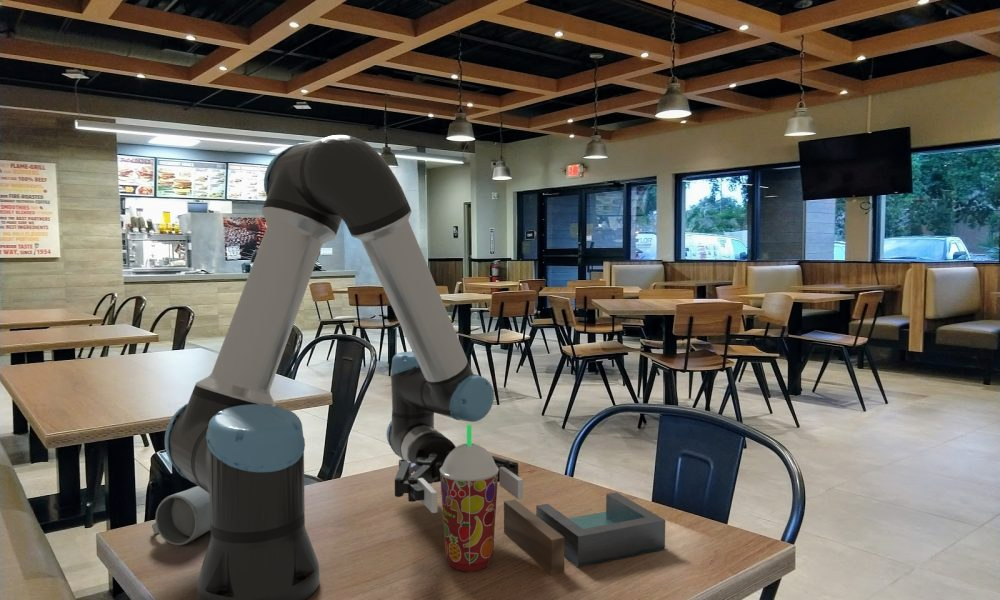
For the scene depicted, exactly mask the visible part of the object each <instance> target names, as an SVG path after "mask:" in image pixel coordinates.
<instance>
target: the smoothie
mask: <svg viewBox="0 0 1000 600" xmlns="http://www.w3.org/2000/svg"><path fill="white" fill-rule="evenodd" d="M492 456H493V455H491V453H490V452H489V451H488V450H487V449H486V448H485V447H483V446H481V445H479V444H476V443H472V424H467V425H466V443H463V444H462V443H461V444H460V445H458V446H456V448H454V449H453V450H452V451H451V452H450V453H449V454H448V456H447V457H446V459H445V461H444V463H443V466H442V467H441V468H440V469H439V470H440V479H441V481H440V491H441V492H440V493H441V506H442V521H443V535H444V536H443V537H444V538H443V539H444V553H445V558H447V560H448V562H449V566H450V567H452V568H453V569H454V570H458V571H462V572H468V573H469V572H478V571H481V570H483V569H485V568H487V567H488V565H490V564H489V563H490V560H491V558H493V556H494V546H495V542H494V541H495V529H496V527H495V526H496V513H497V511H496V510H497V496H498V494H497V493H498V484H499V482H498V472H499V468H498V467H497V465H496V464H495V462H494V460H493V458H492Z"/></svg>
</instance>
